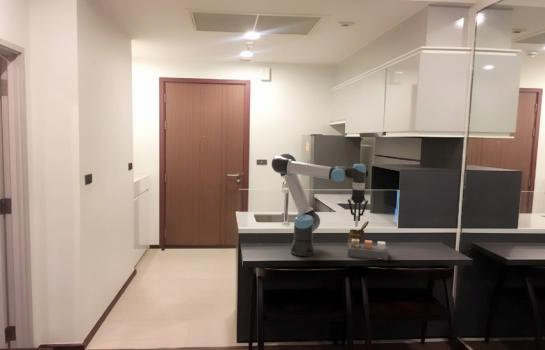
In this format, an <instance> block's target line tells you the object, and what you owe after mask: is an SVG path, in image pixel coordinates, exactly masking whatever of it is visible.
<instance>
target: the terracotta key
mask: <svg viewBox="0 0 545 350" xmlns="http://www.w3.org/2000/svg"><path fill="white" fill-rule="evenodd" d="M364 244H365V245H364V248H366V249H372V245H373V240H371V239H370V240H369V239H368V240H367V239H364Z"/></svg>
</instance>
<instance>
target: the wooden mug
mask: <svg viewBox="0 0 545 350" xmlns="http://www.w3.org/2000/svg"><path fill="white" fill-rule="evenodd" d="M369 223H370V222H369V221H365V222H364V223H363V224H362V226H361V228H360V229H350V230H349V232H348V239H347V243H346V247H347V248H348V246H349V243H352V239H359V244H361V242H362V240H363V238H364V236H365V228H367V227H368V225H369ZM360 235H361V236H360Z"/></svg>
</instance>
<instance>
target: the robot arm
mask: <svg viewBox="0 0 545 350" xmlns="http://www.w3.org/2000/svg"><path fill="white" fill-rule="evenodd" d="M366 167H367V166H366V165H365V164H364V163H354V164H353V166H345V165H344V166H343V165H341V166H340V165H336V166H334V167H332V166H325V165H320V164H314V163H309V162H308V163H307V162H301V161H297V159H296V158H295V157H294V155H292V154H290V153H283V154H280V155H276V156H274V158H273V159H272V161H271V168H272V170H273V171H274V172H275V173H277V174H279V175H280V177H281V178H282V179H284V181H285V183H286V186H287V188H288V191H289V193H290V195H291V198H292V201H293V203H294V205H295V207H296V210H297V216H296V217H295V218H294V220H293V224H294V225H293V226H294V227H293V241H292V244H291V247H290V254H291V253H292V254H291V255H293V254H294V255H293V256H296V255H298V256H297V257H301V256H308V257H312V256H314V255H315V252H316V251H315V247H314V242H313V236H314V235H313V234H314V232H315V231H316V230H317V229H318V228H319V226H320V224H321V218H320V216H319V215H318V213H316V211H315V209H314V208H313V207H311V206H310V202H309V201H308V198H307V196H306V194H305V191H304V189H303V186H302V184H301V180H300V179H299V176H298V175H301V176H309V177H312V178H313V177H314V178H319V179H326V180H331V181H334V182H335V183H338V182H340V183H341V182H342V181H343V180H345V179H348V180H349V179H350V180H352V190H351V197H350V198H348V199H347V202H348V204H349V205H348V206H349V209H350V215H352V216H353V221H354V223H355V224H354V226H355V228H357V227H358V226H359V222H360V221H361V216H364V213H365V210H366V208H367V205H368V203H369V200H368V199H366V197H365V188H366V176H367V174H366V173H367V168H366ZM352 203H354V207H353V205H352ZM362 204H363V207H362ZM357 206H358V210H357ZM353 208H354V210H353ZM361 209H362V210H361ZM357 211H358V214H357Z"/></svg>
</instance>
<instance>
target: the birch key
mask: <svg viewBox="0 0 545 350" xmlns="http://www.w3.org/2000/svg"><path fill="white" fill-rule="evenodd" d="M351 247H356V248H359V239H352V244H351Z"/></svg>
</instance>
